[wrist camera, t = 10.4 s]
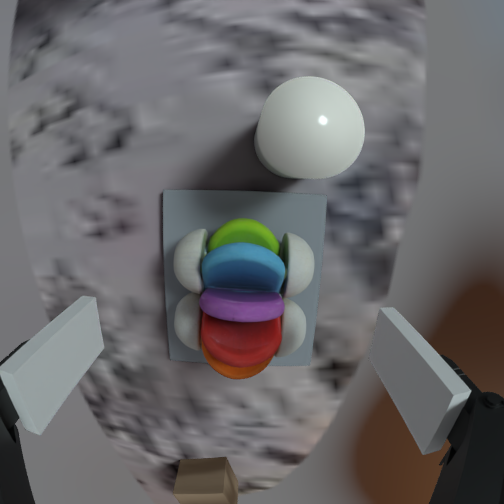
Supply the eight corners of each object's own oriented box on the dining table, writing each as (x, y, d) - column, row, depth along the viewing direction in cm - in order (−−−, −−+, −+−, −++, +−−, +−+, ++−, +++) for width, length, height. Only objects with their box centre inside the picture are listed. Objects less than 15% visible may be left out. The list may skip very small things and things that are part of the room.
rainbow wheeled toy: (182, 340, 23) (158, 399, 15) (184, 210, 21) (151, 225, 13) (294, 348, 23) (309, 409, 16) (310, 220, 21) (340, 238, 14)
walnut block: (180, 458, 27) (172, 493, 22) (226, 456, 26) (223, 493, 21) (195, 483, 28) (190, 516, 23) (238, 481, 27) (236, 515, 23)
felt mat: (165, 189, 21) (163, 189, 20) (324, 195, 21) (326, 195, 20) (171, 356, 24) (170, 359, 23) (308, 361, 24) (309, 365, 23)
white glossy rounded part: (248, 111, 19) (252, 81, 13) (320, 104, 19) (354, 75, 13) (260, 182, 21) (269, 185, 14) (331, 173, 21) (371, 173, 14)
